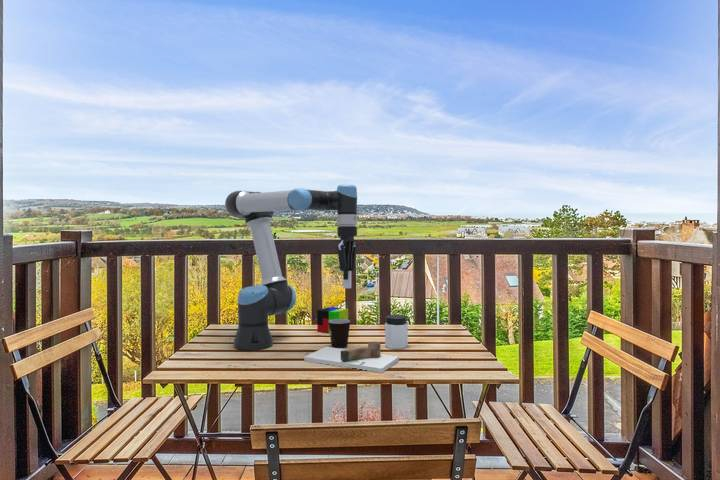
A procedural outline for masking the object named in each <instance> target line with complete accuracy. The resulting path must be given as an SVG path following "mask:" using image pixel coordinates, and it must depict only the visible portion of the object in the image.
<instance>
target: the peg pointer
mask: <svg viewBox="0 0 720 480" xmlns="http://www.w3.org/2000/svg"><path fill="white" fill-rule="evenodd" d="M380 354H381V342H380V341H379V342H378V341H369V342H368V343H367V346H365V347H358V348H353V349H346V350H343V351H341V360H342V361H349V360H354V359H359V358H365V357H380Z"/></svg>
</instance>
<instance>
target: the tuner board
mask: <svg viewBox="0 0 720 480" xmlns="http://www.w3.org/2000/svg"><path fill="white" fill-rule="evenodd" d="M343 350H347V349H345V348H333V347H332V346H324V347H323V348H320V349H317V350H316V351H314V352H312V353H310V354H307V355H305V356H304V358H303V359H304V362H310V363H314V364H320V363H321V364H322V365H327V364H329V365H328V366H333V365H337V366H336V367H339V366H344V367H343V368H346V367H350V368H349V369H352V368H357V369H356V370H359V369H362V370H361V371H365V370H367V371H366V372H371V371H373V372H372V373H378V372H379V373H378V374H383V373H384V372H385V371H387V370H388V369H390V368H391V367H392V366H394V365H395V364H396V363H398V362H399V361H400V356H396V355H390V354H383V353H380V357H365V358H359V359H354V360H349V361H342V360H341V351H343Z"/></svg>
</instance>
